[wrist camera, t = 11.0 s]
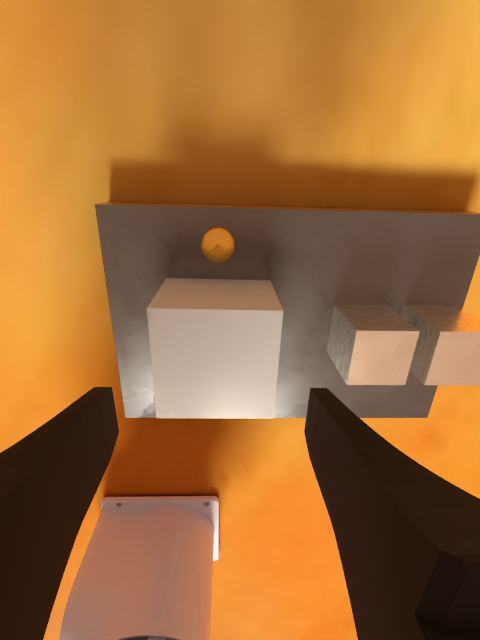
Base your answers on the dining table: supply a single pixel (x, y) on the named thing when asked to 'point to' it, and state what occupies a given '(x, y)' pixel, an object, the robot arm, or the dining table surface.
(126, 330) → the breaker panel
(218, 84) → the dining table surface
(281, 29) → the dining table surface
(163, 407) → the cap
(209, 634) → the robot arm
